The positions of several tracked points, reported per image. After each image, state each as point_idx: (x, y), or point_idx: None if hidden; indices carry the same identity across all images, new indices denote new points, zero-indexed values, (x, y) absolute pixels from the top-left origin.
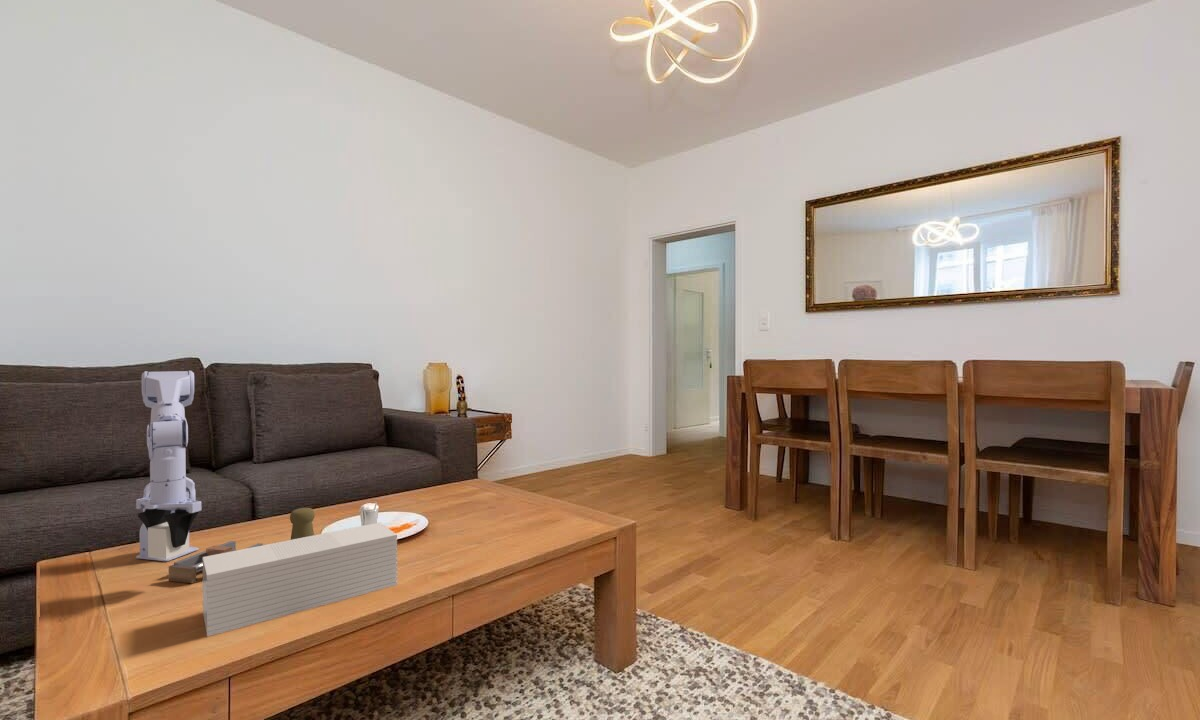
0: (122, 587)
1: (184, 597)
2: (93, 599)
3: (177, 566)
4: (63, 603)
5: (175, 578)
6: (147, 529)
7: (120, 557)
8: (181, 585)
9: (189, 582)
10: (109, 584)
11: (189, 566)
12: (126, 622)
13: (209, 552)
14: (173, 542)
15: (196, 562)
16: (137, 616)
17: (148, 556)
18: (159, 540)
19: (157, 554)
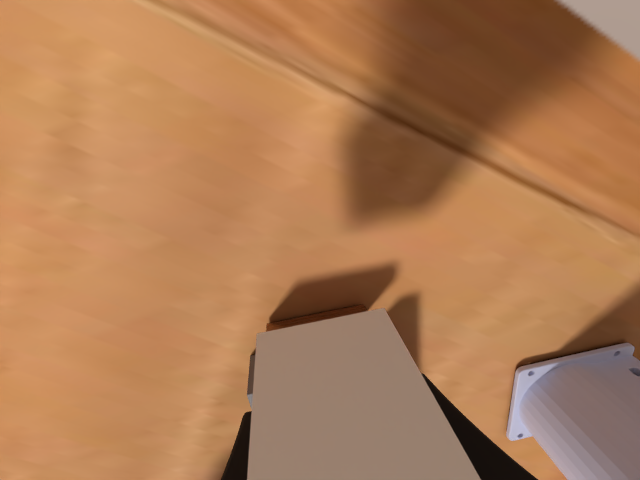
0: (465, 219)
1: (164, 259)
2: (464, 120)
3: None
4: (538, 53)
5: (337, 316)
6: (516, 467)
7: None
8: (289, 304)
9: (276, 323)
10: (532, 214)
11: None
12: (91, 34)
13: None
14: (241, 440)
15: None
16: (123, 91)
17: (383, 310)
18: (315, 415)
19: (322, 335)
